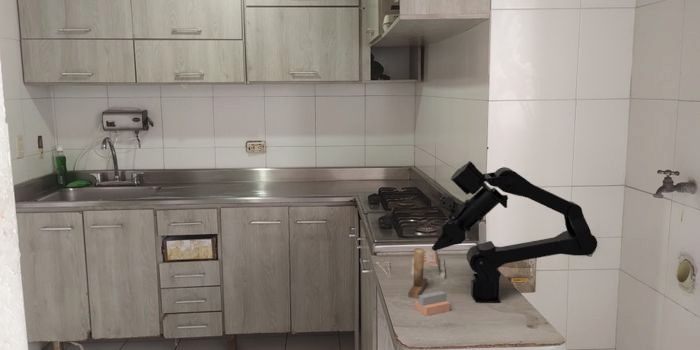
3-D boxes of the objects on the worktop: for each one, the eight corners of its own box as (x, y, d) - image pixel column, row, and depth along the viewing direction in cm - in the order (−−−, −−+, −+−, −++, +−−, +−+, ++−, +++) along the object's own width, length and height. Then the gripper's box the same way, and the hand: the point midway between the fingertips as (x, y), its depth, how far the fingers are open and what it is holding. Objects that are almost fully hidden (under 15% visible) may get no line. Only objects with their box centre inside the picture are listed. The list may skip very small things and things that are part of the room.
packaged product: (445, 264, 164) (411, 263, 166) (445, 280, 165) (411, 279, 166) (443, 247, 182) (412, 246, 183) (443, 262, 183) (412, 261, 184)
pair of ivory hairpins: (374, 265, 180) (374, 259, 180) (389, 264, 181) (389, 258, 181) (384, 287, 163) (384, 280, 163) (400, 286, 164) (400, 280, 164)
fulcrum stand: (437, 304, 146) (438, 289, 145) (449, 310, 141) (450, 295, 141) (414, 308, 142) (415, 293, 142) (426, 315, 138) (426, 300, 137)
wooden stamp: (427, 284, 161) (428, 244, 159) (417, 298, 150) (418, 256, 148) (418, 283, 162) (419, 243, 160) (408, 297, 151) (408, 255, 149)
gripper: (461, 178, 156) (421, 215, 161) (451, 189, 139) (407, 231, 144) (489, 207, 155) (448, 244, 160) (484, 222, 137) (438, 263, 142)
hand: (435, 244), depth 152 cm, fingers open, 9 cm apart
